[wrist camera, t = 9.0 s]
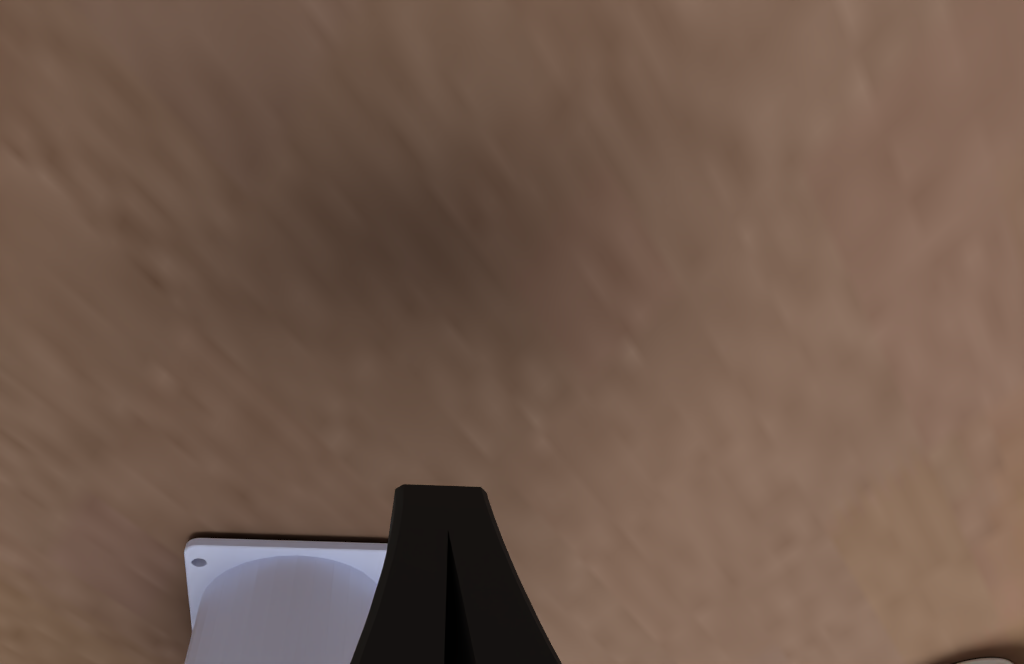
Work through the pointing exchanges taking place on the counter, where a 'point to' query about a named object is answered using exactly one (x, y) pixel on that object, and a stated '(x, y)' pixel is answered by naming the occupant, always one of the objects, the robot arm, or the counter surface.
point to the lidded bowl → (987, 661)
